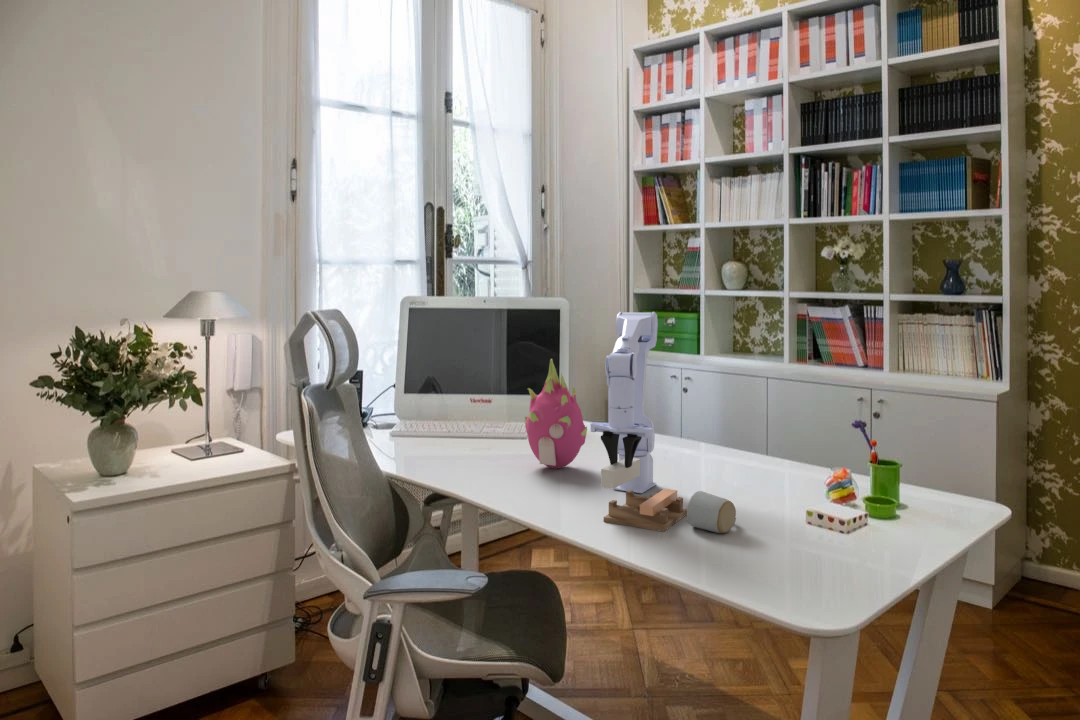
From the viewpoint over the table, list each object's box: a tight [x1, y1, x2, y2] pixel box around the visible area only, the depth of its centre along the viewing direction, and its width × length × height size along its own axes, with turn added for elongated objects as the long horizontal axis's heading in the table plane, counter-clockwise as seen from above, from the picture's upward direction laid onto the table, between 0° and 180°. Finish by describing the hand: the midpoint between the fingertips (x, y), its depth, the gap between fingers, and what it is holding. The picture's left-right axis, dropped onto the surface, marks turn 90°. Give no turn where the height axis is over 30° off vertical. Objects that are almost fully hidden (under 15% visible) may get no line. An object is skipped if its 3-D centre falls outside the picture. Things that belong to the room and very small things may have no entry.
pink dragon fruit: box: [524, 358, 588, 469], centre depth 221 cm, size 18×14×30 cm
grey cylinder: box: [686, 490, 737, 534], centre depth 172 cm, size 11×8×8 cm
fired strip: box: [640, 488, 678, 516], centre depth 178 cm, size 14×3×2 cm, turn 149°
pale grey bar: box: [600, 458, 640, 490], centre depth 183 cm, size 14×3×4 cm, turn 149°
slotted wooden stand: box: [603, 490, 687, 532], centre depth 179 cm, size 14×14×4 cm
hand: (621, 465), depth 183 cm, fingers closed on pale grey bar, 3 cm apart
